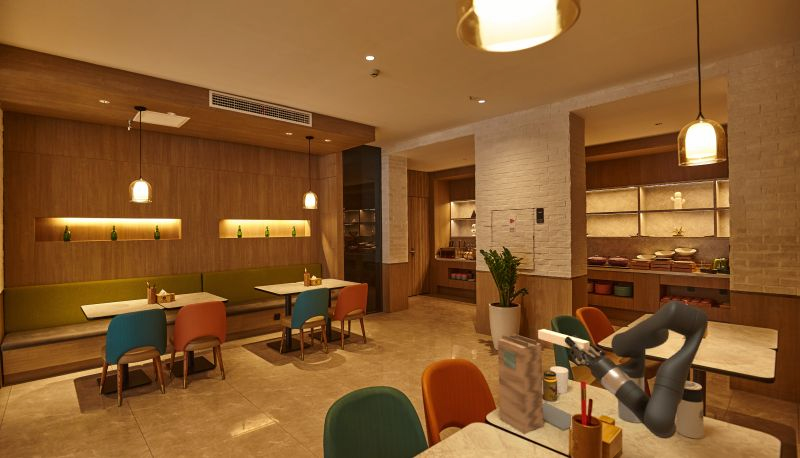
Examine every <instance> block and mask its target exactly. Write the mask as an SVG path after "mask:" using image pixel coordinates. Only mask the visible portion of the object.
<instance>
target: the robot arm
mask: <svg viewBox="0 0 800 458" xmlns="http://www.w3.org/2000/svg"><path fill="white" fill-rule="evenodd" d="M708 323H709V316H708V314H707V312H706V311H704V310H703V309H700V308H698V307H696V306H693V305H689V304H687V303H684V302H682V301H679V300H678V301H677V300H670V301H668V302H667V303H665V304H664V305H663V306H662V307H660V308H659V309H658V310H657V311H656V312H654V313H653V314H652V315H651V316H648V317H647V318H646V319H643V320H642V321H640V322H639V323H637V324H636V325H634V326H632V327H630V328H629V329H627V330H625V331H623V332H620V333H619V332H618V333H616V334H615V335H613V337H612V339H611V345H610V346H611V349H612V352H613V353H614V354H615V355H616V356H617V357H619V358H623V359H624V358H627V359H628V358H629V359H628V360H626V361H624V362H621V363H618V365H617V364H616V363H615V362H614V361H613V360H612V359H611V358H609V357H607V356H606V355H607V352H606V351H605V350H604V349H602V348H600V347H598V345H595V344H594V343H593V342H590V347H589V351H587V350H585V349H584V348H581V347H580V346H578V345H577V344H576V343H575V342H574V341H573V340H572V339H571V338H570V337H566V339H565V342H566V344H567V345H569V346H570V347H571V348H570V350H569V354H570V356H571V358H572V360H573V362H574V363H575V365H576V366H578V367H579V366H580V365H584V366H585V367H587V368H588V369H589V371H590V374H591V375H592V376H593V377H594V379H596V380H597V381H598V382H599V383H600V385H602V386H603V387H604V388H605V389H606V390H607V391H608V392H609V393H610V394H612V395H613V396H614V398H616V399H617V415H618V417H619V418H620V419H622V420H624V421H626V422H629V423H635V424H636V423H637V424H638V423H642V424H643V425H644V426H645V428H646V429H647V430H648V431H649V432H650V433H651V434H653V435H654V436H655V437H658V438H660V439H671V438H672V437H674V436H675V434H676V432H677V423H676V412H677V408H678V405H679V404H680V402H681V400H682V396H683V392H684V388H685V383H686V381H687V379H688V375H689V372H690V369H691V366H692V365H693V363H694V360H695V357H696V355H697V354H698V351H699V349H700V346H701V343H702V340H703V339H704V335H705V334H706V330H707V329H708ZM670 331H672V332H673V333H677V334H679V335H681V336H684V337H685V338H684V339H685V340H684V343H683V345H682V346H681V348H679V350H677V351H676V352H675V353H674V354H672V355H671V356H670V357H668V358H667V359H665V360H664V361H663V362H662V363H661V364H660V366H659V367H658V369H657V371H656V375H655V379H654V383H653V388H652V392H651V395H650V397H649V396H648V395H647V392H645V370H646V350H651V349H654V348H658V347H660V346H662V345H664V344H665V343H667V341H668V339H669V337H670ZM572 337H574V338H578V339H581V338H580V337H579V336H577V334H574V335H573V336H572ZM577 349H578V350H579V351H578V350H577ZM605 356H606V357H605Z"/></svg>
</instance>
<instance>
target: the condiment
mask: <svg viewBox="0 0 800 458" xmlns="http://www.w3.org/2000/svg"><path fill="white" fill-rule="evenodd" d="M558 394H559V393H557V379H556V373H555V372H554V371H550V370H544V371H543V372H542V396H543V403H553V404H554V403H555V404H559V403H560V401H559V396H558Z"/></svg>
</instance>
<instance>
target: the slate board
mask: <svg viewBox="0 0 800 458" xmlns="http://www.w3.org/2000/svg"><path fill="white" fill-rule="evenodd" d="M572 415H573V414H571V413H568V412H566V411H564V410H562V409H560V408H558V407H556V406H554V405H552V404H551V403H550V404H549V402H543V422H547V423H548V424H550V425H552V427H553V426H554V427H556V428H558V429H559V430H561V431H564V432H565V431H567V430H569V429H571V428H570V426H571V416H572Z"/></svg>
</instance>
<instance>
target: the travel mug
mask: <svg viewBox="0 0 800 458" xmlns="http://www.w3.org/2000/svg"><path fill="white" fill-rule="evenodd" d="M702 389H703V387H702V385H701V384H700V383H697V382H694V381H691V380H690V381H689V380H686V383H685V388H684V392H683V396H682V400H681V402H680V404H679V405H678V408H677V412H676V417H675V419H676V432H677V433H679V434H680V435H682V436H684V437H685V438H690V439H694V440H695V439H696V440H697V439H702V438H704V437H705V435H704V433H705V429H704V428H705V427H704V395H703V394H702Z"/></svg>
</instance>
